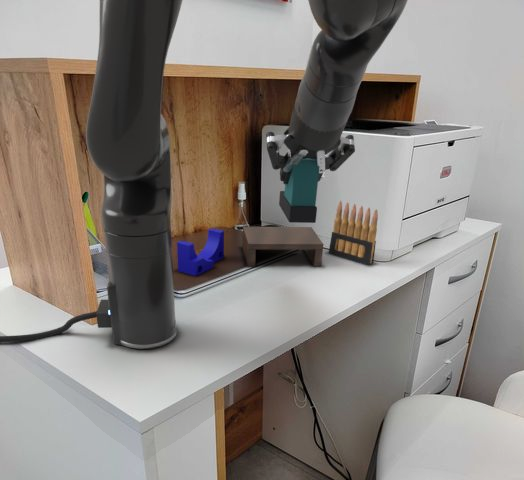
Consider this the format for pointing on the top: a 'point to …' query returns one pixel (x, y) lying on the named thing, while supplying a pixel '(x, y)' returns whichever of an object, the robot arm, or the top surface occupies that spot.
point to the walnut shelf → (282, 241)
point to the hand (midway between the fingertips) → (298, 179)
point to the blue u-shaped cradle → (201, 254)
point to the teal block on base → (301, 192)
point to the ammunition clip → (354, 235)
